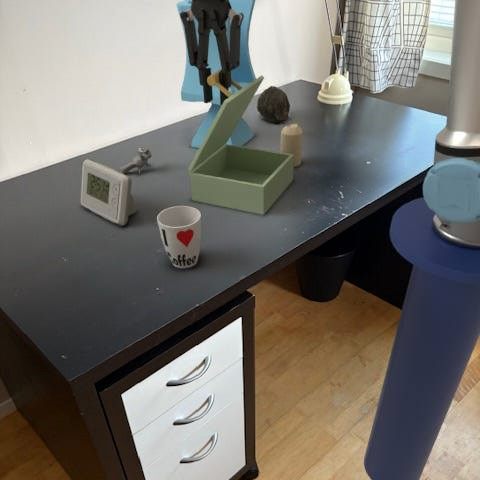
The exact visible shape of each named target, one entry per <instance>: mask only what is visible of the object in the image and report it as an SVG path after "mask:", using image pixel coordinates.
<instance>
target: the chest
mask: <svg viewBox="0 0 480 480" xmlns="http://www.w3.org/2000/svg"><path fill="white" fill-rule="evenodd" d="M293 163H294V154H287V153H281V151H274V150H268V149H260V148H254V147H249V146H248V147H247V146H235V145H229V144H225V145H224V146H223V147H221V148H220V149H219V150H218V151H216V152H215V153H214V154H213V155H211V156H210V157H209V158H208V159H206V160H205V161H204V162H203V163H201V164H200V165H199V166H198V167H197V168H195V169H194V170H193V171H192V172H189V183H190V191H191V200H192V201H194V202H199V203H203V204H208V205H213V206H218V207H223V208H228V209H233V210H238V211H243V212H247V213H252V214H256V215H262V216H264V215H265V214H266V213H267V211H269V209H270V208H271V207H272V206H273V205H274V204H275V202H276V201H277V200H278V199H279V197H281V195H282V194H283V193H284V192H285V190H286V189H287V188H288V187H289V186H290V185H291V184H292V182H293V181H294V167H293Z"/></svg>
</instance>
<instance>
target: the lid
mask: <svg viewBox="0 0 480 480" xmlns="http://www.w3.org/2000/svg"><path fill="white" fill-rule="evenodd" d="M221 70H222V69H221ZM221 70H219V71H217V72H215V73H214V74H212V75H210V76H209V77H208V78H207V82H208V84H209V85H210V86H214V85H215V86H216V87H217V88H218V89H220V90H221V91H222V92H223V93H224V94H226V95H227V96H228V97H229V98H227V99H226V100H224V102H223V104H222V106H221V108H220V110H219V112H218V114H217V116H216V118H215V119H214V121H213V123H212V125H211V127H210V129H209V131H208V133H207V135H206V137H205V139H204V140H203V142H202V144H201V146H200V148H198V150H197V152H196V154H195V155H194V157H193V159H192V161H191V163H190V166H189V168H188V169H187V171H188V172H189V173H191V172H192V171H193V170H194V169H196V168H197V167H198V166H199V165H200V164H202V163H203V162H204V161H205V160H207V159H208V158H209V157H210V156H211V155H213V154H214V153H215V152H216V151H217V150H219V149H220V148H221V147H222V146H224V145H225V144H226V143H227V142H228V140H229V138H230V136H231V135H232V133H233V131H234V129H235V128H236V126H237V124H238V123H239V121H240V119H241V117H242V118H243V115H244V114H245V112H246V111H247V108H248V107H249V105H250V104H251V101H252V100H253V98H254V96H255V95H256V93H257V92H258V89H259V88H260V86H261V84H262V83H263V81H264V80H265V77H264V76H263V74H261V75H260V76H258V77H256V80H254V81H253V82H251V83H250V84H248V85H247V86H245V87H244V88H242V87H241V86H240V85H239V84H238V83H236V82H235V81H234V80H233V79H232V78H231V80H232V81H231V82H232V85H233V86H234V87H236V88H237V89H238V90H239V91H238V92H236V93H235V94H231V93H230V92H229V91H228V90H227V89H225V88H224V87H223V86H222V85H221V84H220V83H219V72H221Z"/></svg>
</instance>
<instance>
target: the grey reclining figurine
mask: <svg viewBox="0 0 480 480" xmlns="http://www.w3.org/2000/svg"><path fill="white" fill-rule="evenodd" d="M137 153H138V155H136V156H134V157H133V158H132V161H131V162H129V163H126V164H125V165H123V166H120V167H119V168H120V170H121V173H122V174H124V175H126V174H127V173H128V172H130V171H131V170H134V169H135V168H137V170H138V175H140V174H141V171H142V168H143V167H145V166H149V163H148V161H149V159H151V158H152V152H151V151H150V150H149V149H148V148H146V147H142V148H141V147H139V148H138V150H137Z"/></svg>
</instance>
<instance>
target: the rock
mask: <svg viewBox="0 0 480 480" xmlns="http://www.w3.org/2000/svg"><path fill="white" fill-rule="evenodd" d="M290 108H291V104H290V101H289V98H288V95H287V94H286V92H285V91H284V90H283V89H281V88H279V87H277V86H274V85H270V86H269V87H268V88H266V89H264V90H263V91H262V93H260V95H259V97H258V98H257V104H256V110H257V112H259V115H260V116H262V117H263V118H264V119H265V120H267V121H269V122H272V123H280V122H284V121H286V120H287V119H288V118H289V113H290V110H291V109H290Z"/></svg>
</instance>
